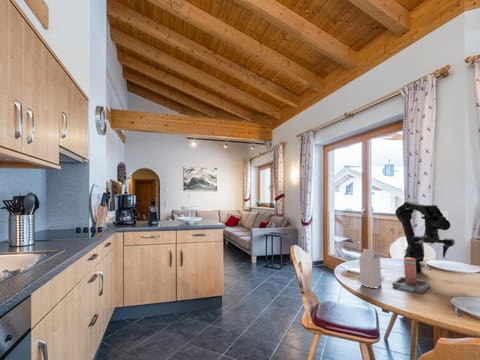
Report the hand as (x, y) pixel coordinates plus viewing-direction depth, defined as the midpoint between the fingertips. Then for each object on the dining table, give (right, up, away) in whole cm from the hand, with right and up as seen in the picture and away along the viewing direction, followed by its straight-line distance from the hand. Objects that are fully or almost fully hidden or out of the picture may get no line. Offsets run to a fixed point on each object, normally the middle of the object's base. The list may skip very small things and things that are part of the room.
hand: (433, 256), depth 144 cm
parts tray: (-18, -13, -9) cm, 25 cm away
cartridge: (-18, -13, -9) cm, 24 cm away
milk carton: (-37, -14, -6) cm, 40 cm away
